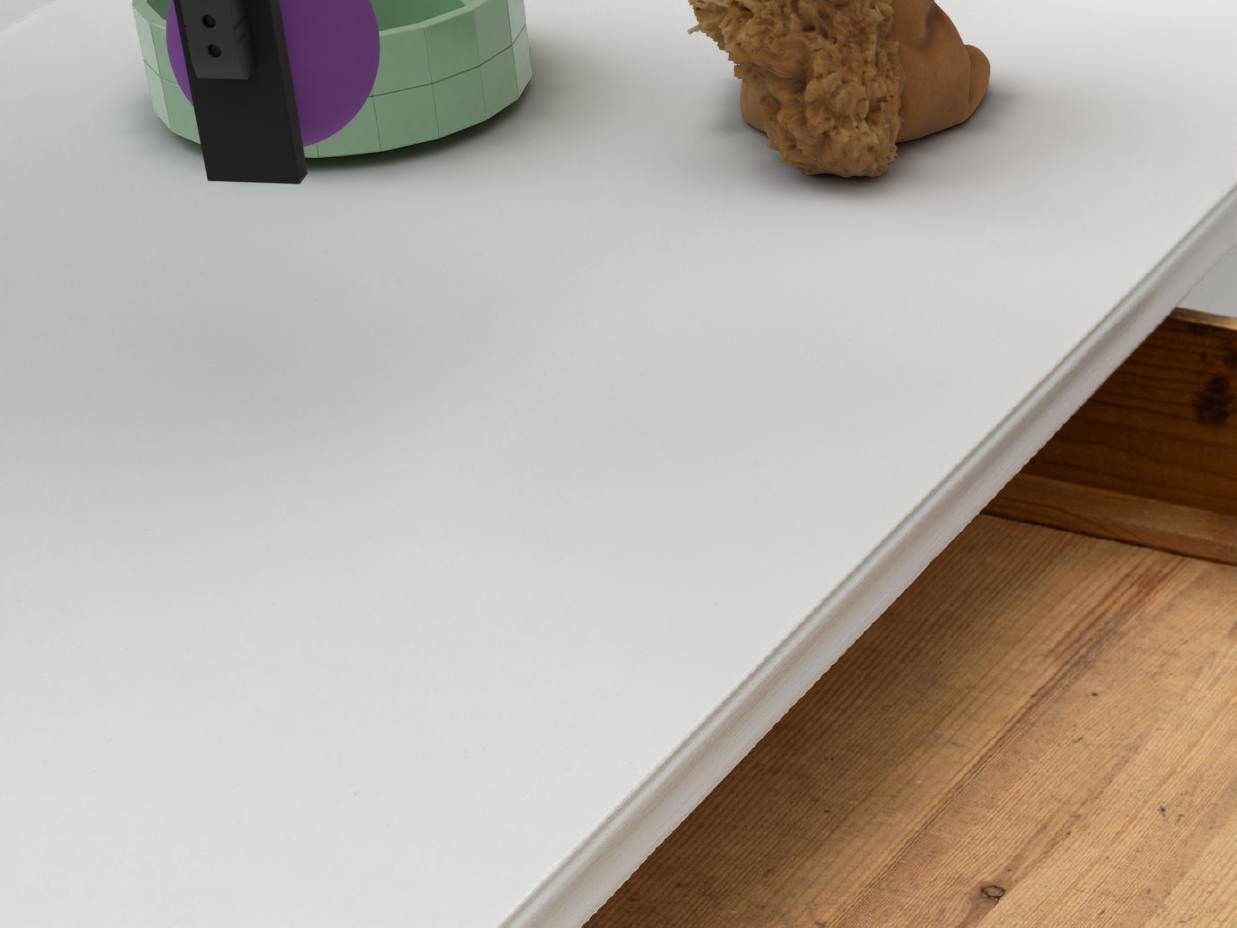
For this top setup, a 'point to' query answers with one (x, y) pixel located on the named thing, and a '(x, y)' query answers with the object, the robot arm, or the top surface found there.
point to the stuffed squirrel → (845, 76)
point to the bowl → (391, 72)
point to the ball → (315, 60)
